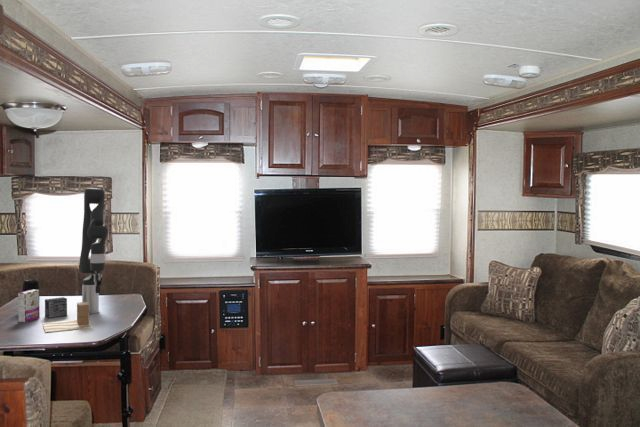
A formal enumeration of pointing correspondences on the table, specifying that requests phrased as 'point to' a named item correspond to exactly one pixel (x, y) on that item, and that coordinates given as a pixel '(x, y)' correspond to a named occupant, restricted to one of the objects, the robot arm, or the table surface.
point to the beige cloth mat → (63, 326)
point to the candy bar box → (28, 305)
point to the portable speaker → (30, 284)
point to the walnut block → (83, 313)
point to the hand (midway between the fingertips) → (97, 292)
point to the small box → (55, 307)
